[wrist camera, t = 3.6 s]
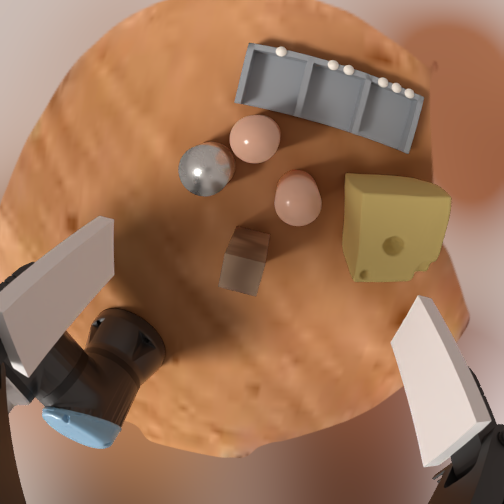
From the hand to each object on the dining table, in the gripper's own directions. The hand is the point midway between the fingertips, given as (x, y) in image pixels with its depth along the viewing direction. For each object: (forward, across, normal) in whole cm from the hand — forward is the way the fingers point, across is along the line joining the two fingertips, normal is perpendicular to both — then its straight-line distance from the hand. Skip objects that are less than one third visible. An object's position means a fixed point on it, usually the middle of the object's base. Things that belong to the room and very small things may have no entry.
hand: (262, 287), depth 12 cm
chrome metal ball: (+27, -8, -2) cm, 28 cm away
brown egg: (+27, +3, -2) cm, 27 cm away
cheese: (+27, +14, -2) cm, 30 cm away
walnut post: (+27, -2, -12) cm, 29 cm away
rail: (+27, +4, +10) cm, 29 cm away
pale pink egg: (+27, -3, +3) cm, 27 cm away
